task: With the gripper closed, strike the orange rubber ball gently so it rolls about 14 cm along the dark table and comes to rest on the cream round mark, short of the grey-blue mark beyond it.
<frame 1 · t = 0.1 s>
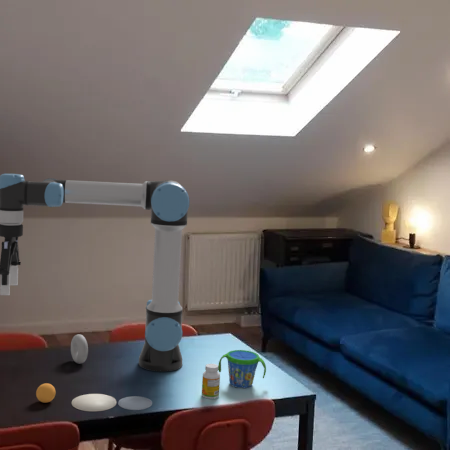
hand: (9, 290, 217), 28 cm above the table, tool pointing down, fingers open, 13 cm apart
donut: (78, 363, 237), on the table
snack cup: (241, 385, 225), on the table
supplement bottle: (210, 396, 214), on the table
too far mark: (135, 403, 204), on the table
ball: (45, 392, 201), on the table
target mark: (94, 402, 203), on the table
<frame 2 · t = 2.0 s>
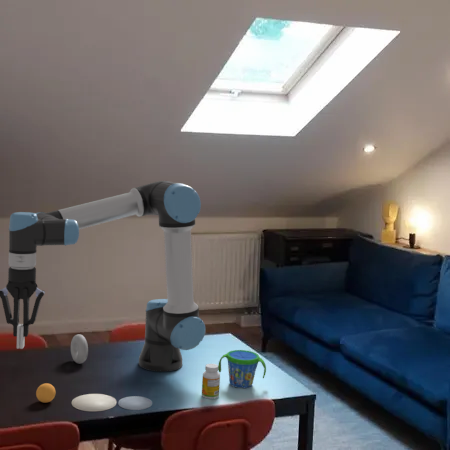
hand: (20, 347, 198), 16 cm above the table, tool pointing down, fingers closed
nothing on the table moved.
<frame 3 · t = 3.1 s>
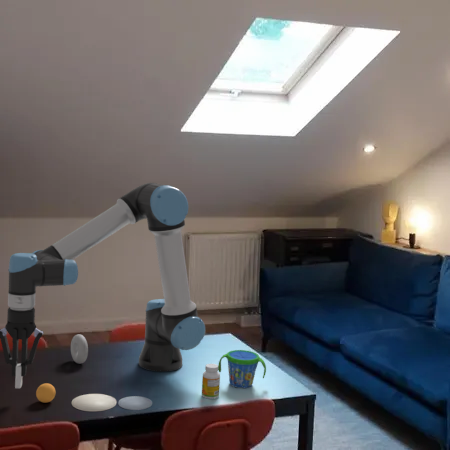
hand: (18, 386, 200), 5 cm above the table, tool pointing down, fingers closed
nothing on the table moved.
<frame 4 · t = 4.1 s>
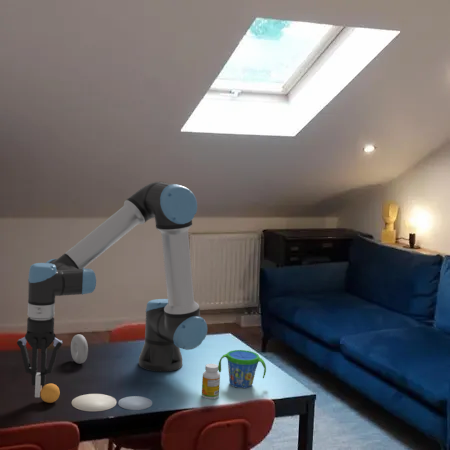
hand: (38, 395, 201), 2 cm above the table, tool pointing down, fingers closed
ball: (50, 393, 201), on the table, touching gripper
everything else where it was.
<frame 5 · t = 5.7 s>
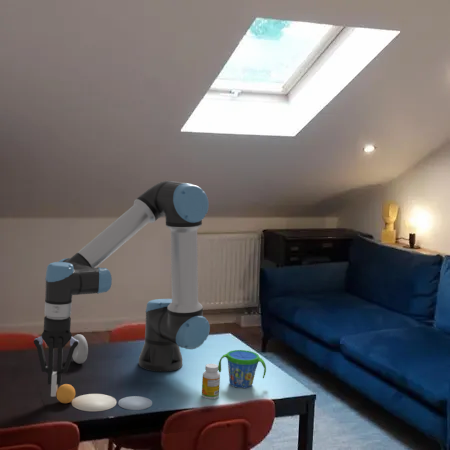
hand: (53, 394, 201), 2 cm above the table, tool pointing down, fingers closed
ball: (65, 393, 201), on the table, touching gripper
everything else where it was.
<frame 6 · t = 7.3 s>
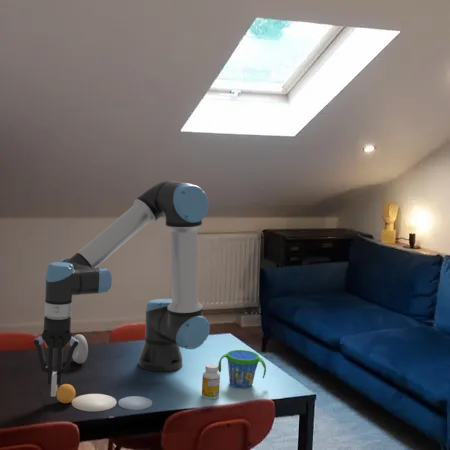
hand: (54, 394, 201), 2 cm above the table, tool pointing down, fingers closed
nothing on the table moved.
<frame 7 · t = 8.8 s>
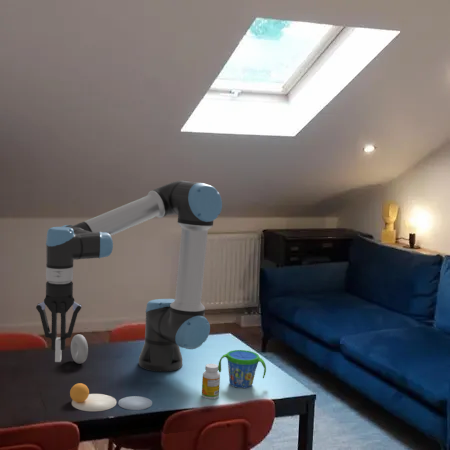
hand: (58, 360, 200), 13 cm above the table, tool pointing down, fingers closed
ball: (79, 392, 203), on the table
everything else where it was.
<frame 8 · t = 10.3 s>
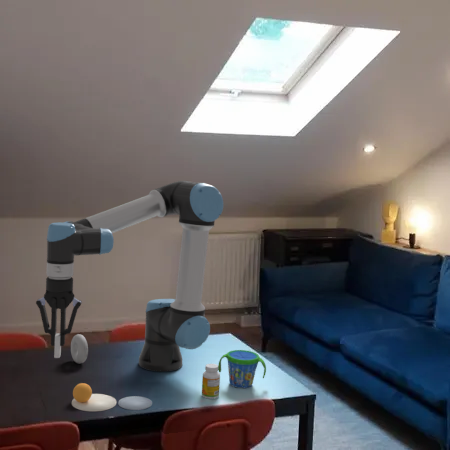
hand: (57, 356, 200), 14 cm above the table, tool pointing down, fingers closed
nothing on the table moved.
at the end: ball 3.6 cm from the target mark (horizontally); ball at rest at the end (0.0 cm/s); ball moved 10.4 cm from its start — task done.
